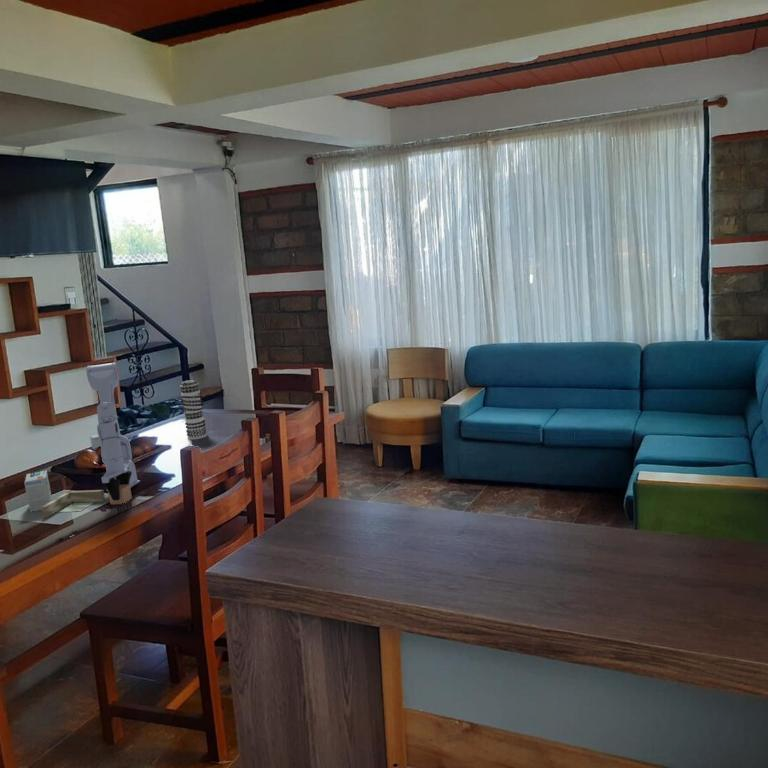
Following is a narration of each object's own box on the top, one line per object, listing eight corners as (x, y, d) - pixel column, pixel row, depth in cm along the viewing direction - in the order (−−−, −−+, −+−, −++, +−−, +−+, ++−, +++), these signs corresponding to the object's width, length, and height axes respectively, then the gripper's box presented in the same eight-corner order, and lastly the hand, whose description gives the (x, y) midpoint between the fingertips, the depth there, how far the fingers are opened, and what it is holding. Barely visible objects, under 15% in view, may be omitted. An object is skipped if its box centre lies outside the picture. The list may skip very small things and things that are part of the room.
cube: (118, 499, 250) (115, 484, 250) (132, 498, 250) (129, 484, 249) (110, 504, 246) (107, 490, 245) (124, 503, 245) (121, 489, 244)
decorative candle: (211, 436, 326) (202, 380, 321) (191, 440, 321) (182, 384, 316) (203, 432, 334) (195, 378, 329) (183, 437, 329) (174, 382, 324)
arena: (70, 501, 254) (68, 491, 253) (105, 499, 252) (103, 489, 251) (43, 517, 240) (41, 507, 239) (80, 516, 237) (78, 505, 237)
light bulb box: (31, 503, 256) (25, 473, 254) (52, 499, 258) (47, 469, 256) (29, 512, 246) (23, 481, 244) (51, 508, 248) (45, 477, 246)
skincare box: (97, 467, 294) (91, 437, 291) (94, 465, 297) (89, 436, 295) (113, 463, 297) (107, 434, 295) (110, 461, 301) (105, 432, 298)
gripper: (113, 463, 237) (120, 504, 240) (135, 450, 251) (142, 488, 254) (92, 464, 238) (100, 505, 241) (116, 451, 252) (123, 489, 255)
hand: (120, 496), depth 247 cm, fingers closed on cube, 5 cm apart
